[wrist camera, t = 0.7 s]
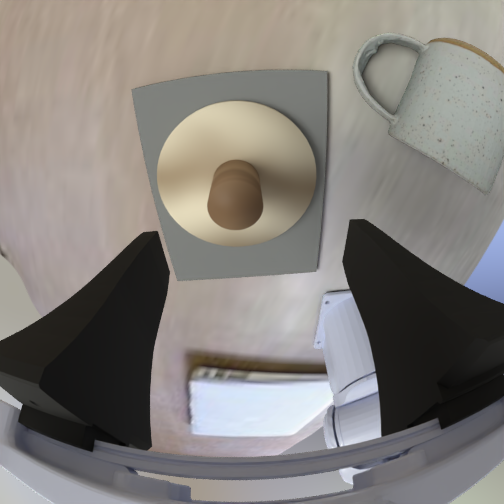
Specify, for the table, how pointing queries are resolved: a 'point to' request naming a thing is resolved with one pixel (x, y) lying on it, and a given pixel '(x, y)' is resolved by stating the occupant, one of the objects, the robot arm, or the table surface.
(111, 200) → the table surface
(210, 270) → the mat
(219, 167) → the lid
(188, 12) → the table surface
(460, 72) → the ceramic mug
